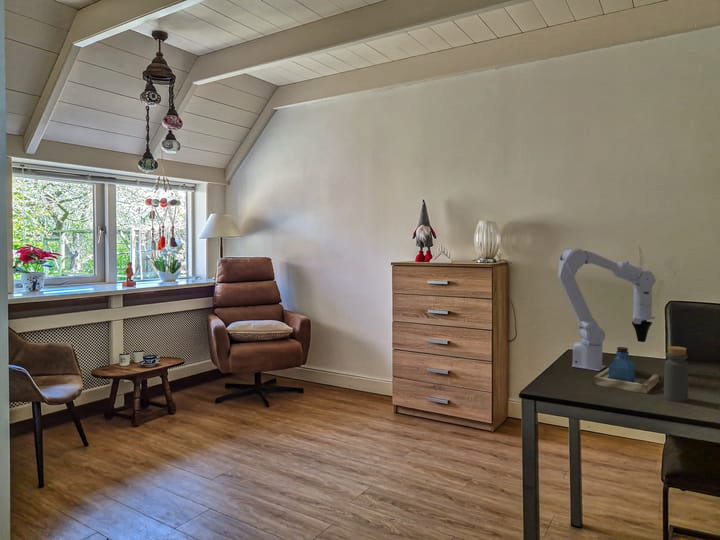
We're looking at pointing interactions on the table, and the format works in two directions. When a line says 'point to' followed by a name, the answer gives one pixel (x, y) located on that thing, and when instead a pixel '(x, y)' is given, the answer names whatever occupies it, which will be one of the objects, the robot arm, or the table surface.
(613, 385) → the walled pen
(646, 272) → the robot arm
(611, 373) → the perfume bottle
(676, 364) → the bottle
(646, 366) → the table surface
